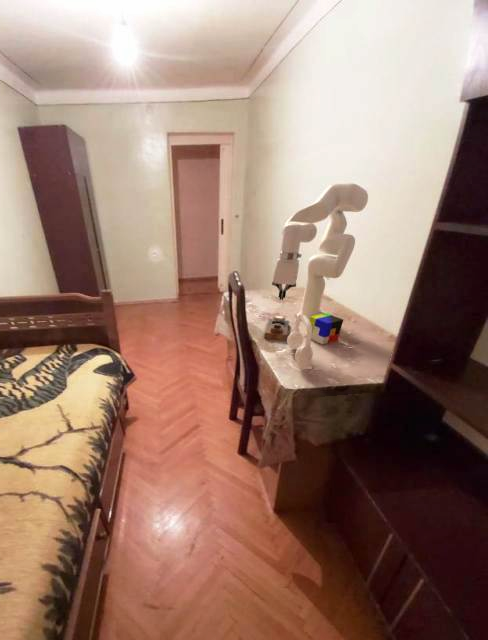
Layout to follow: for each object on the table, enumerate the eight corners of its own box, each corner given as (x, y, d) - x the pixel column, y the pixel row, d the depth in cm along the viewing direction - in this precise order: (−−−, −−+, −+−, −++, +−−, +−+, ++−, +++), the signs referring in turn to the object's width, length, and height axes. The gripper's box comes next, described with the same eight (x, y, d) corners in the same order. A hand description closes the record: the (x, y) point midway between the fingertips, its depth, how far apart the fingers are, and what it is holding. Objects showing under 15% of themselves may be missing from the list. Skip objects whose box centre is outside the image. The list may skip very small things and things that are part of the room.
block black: (288, 324, 165) (289, 317, 163) (287, 331, 157) (288, 324, 155) (268, 322, 167) (269, 315, 165) (266, 329, 159) (268, 321, 157)
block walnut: (287, 332, 156) (288, 324, 153) (285, 340, 148) (287, 331, 145) (266, 330, 158) (267, 321, 156) (264, 338, 150) (265, 329, 148)
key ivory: (282, 319, 161) (282, 316, 160) (281, 321, 158) (282, 318, 157) (275, 319, 162) (276, 315, 161) (275, 321, 159) (275, 317, 158)
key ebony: (280, 326, 151) (280, 323, 151) (280, 328, 149) (280, 325, 148) (274, 326, 152) (274, 322, 151) (274, 328, 150) (274, 325, 149)
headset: (284, 348, 141) (291, 308, 131) (300, 348, 141) (308, 308, 131) (294, 369, 124) (303, 326, 114) (312, 370, 124) (323, 326, 114)
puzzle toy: (322, 344, 144) (327, 323, 138) (306, 336, 151) (310, 316, 146) (337, 340, 148) (343, 319, 142) (321, 333, 155) (326, 313, 150)
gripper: (306, 256, 138) (298, 298, 148) (272, 254, 142) (266, 295, 152) (306, 258, 132) (297, 303, 142) (270, 256, 136) (264, 299, 146)
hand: (281, 299), depth 147 cm, fingers closed
